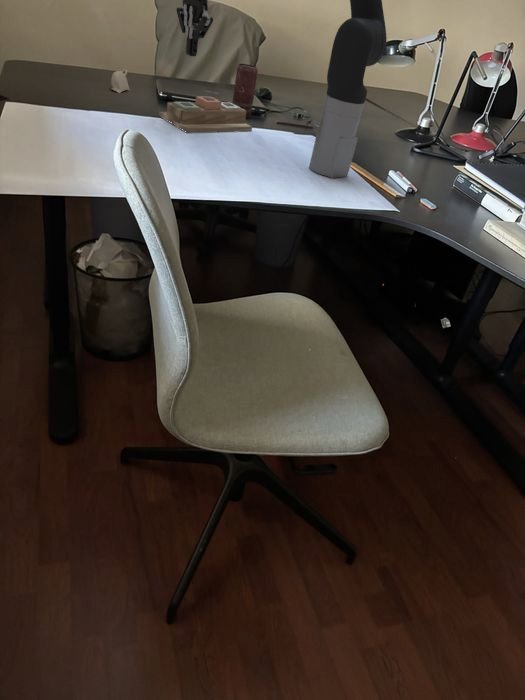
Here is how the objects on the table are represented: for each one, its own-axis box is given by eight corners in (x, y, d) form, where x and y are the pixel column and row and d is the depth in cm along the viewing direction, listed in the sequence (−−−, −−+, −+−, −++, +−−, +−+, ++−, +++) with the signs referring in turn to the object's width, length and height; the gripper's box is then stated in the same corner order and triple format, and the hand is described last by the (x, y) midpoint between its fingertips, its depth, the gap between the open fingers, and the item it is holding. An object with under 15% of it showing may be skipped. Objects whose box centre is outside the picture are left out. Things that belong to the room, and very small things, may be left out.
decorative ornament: (106, 90, 156) (106, 70, 152) (121, 86, 162) (121, 67, 159) (118, 93, 155) (119, 74, 152) (133, 90, 162) (133, 71, 158)
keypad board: (251, 131, 149) (254, 114, 146) (186, 133, 135) (188, 114, 133) (223, 115, 156) (225, 100, 154) (158, 116, 143) (159, 98, 140)
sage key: (198, 117, 140) (199, 106, 139) (183, 117, 137) (184, 106, 136) (188, 111, 143) (189, 101, 141) (173, 111, 140) (173, 100, 138)
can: (248, 120, 158) (256, 69, 149) (228, 115, 158) (235, 64, 150) (253, 116, 163) (261, 67, 154) (233, 111, 163) (240, 62, 155)
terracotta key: (220, 111, 144) (221, 101, 142) (205, 111, 141) (206, 100, 139) (210, 106, 146) (211, 95, 145) (195, 106, 143) (196, 95, 142)
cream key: (239, 116, 149) (240, 106, 147) (225, 117, 146) (226, 106, 144) (229, 111, 151) (230, 101, 150) (215, 111, 148) (216, 101, 147)
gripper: (227, -21, 120) (218, 62, 130) (195, -30, 127) (188, 50, 137) (200, -26, 116) (193, 60, 126) (169, -35, 123) (164, 48, 133)
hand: (191, 55), depth 132 cm, fingers closed
